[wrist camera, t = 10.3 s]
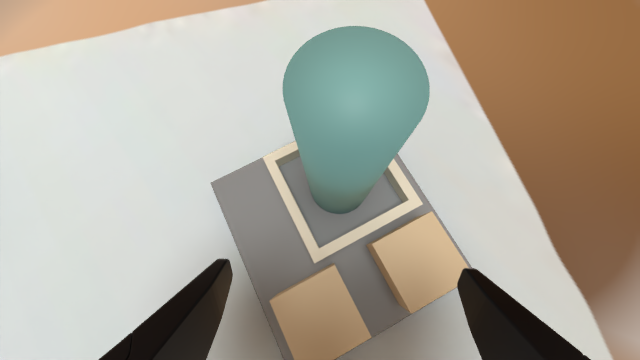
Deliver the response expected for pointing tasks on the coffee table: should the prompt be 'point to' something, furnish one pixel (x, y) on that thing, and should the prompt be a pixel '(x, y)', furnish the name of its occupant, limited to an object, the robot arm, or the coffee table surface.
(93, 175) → the coffee table surface
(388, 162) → the teal column
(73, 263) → the coffee table surface
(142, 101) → the coffee table surface
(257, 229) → the base board
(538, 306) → the coffee table surface
